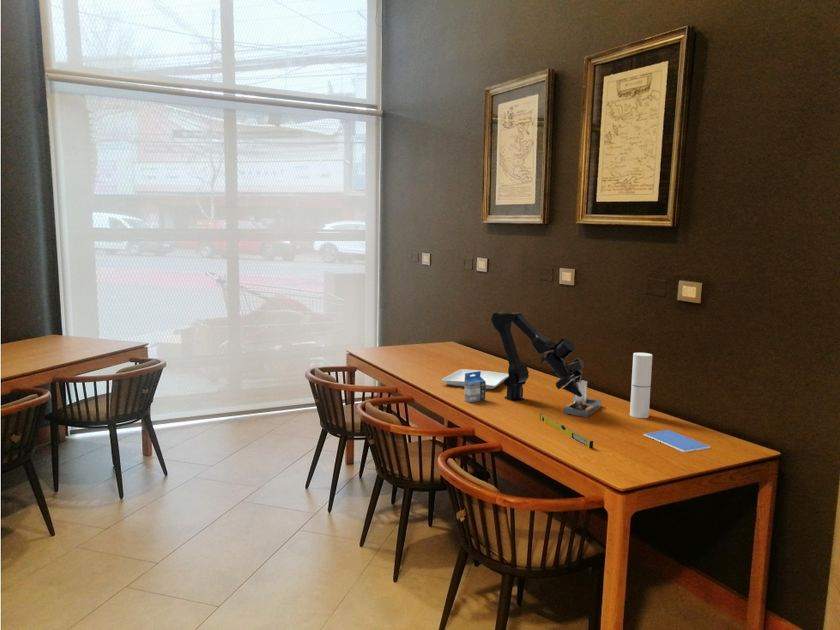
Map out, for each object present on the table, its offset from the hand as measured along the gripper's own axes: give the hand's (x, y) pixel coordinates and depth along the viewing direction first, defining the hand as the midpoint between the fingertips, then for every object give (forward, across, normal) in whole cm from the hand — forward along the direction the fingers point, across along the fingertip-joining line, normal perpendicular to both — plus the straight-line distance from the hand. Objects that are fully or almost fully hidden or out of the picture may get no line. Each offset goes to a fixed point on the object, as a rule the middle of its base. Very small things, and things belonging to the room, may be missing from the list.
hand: (583, 395), depth 250 cm
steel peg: (+4, 0, +6) cm, 7 cm away
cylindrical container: (+20, +9, -9) cm, 23 cm away
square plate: (-36, +23, +47) cm, 63 cm away
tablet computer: (+33, -16, -21) cm, 42 cm away
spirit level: (+7, -30, +4) cm, 31 cm away
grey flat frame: (+4, +5, +6) cm, 9 cm away
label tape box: (-26, -7, +37) cm, 46 cm away
